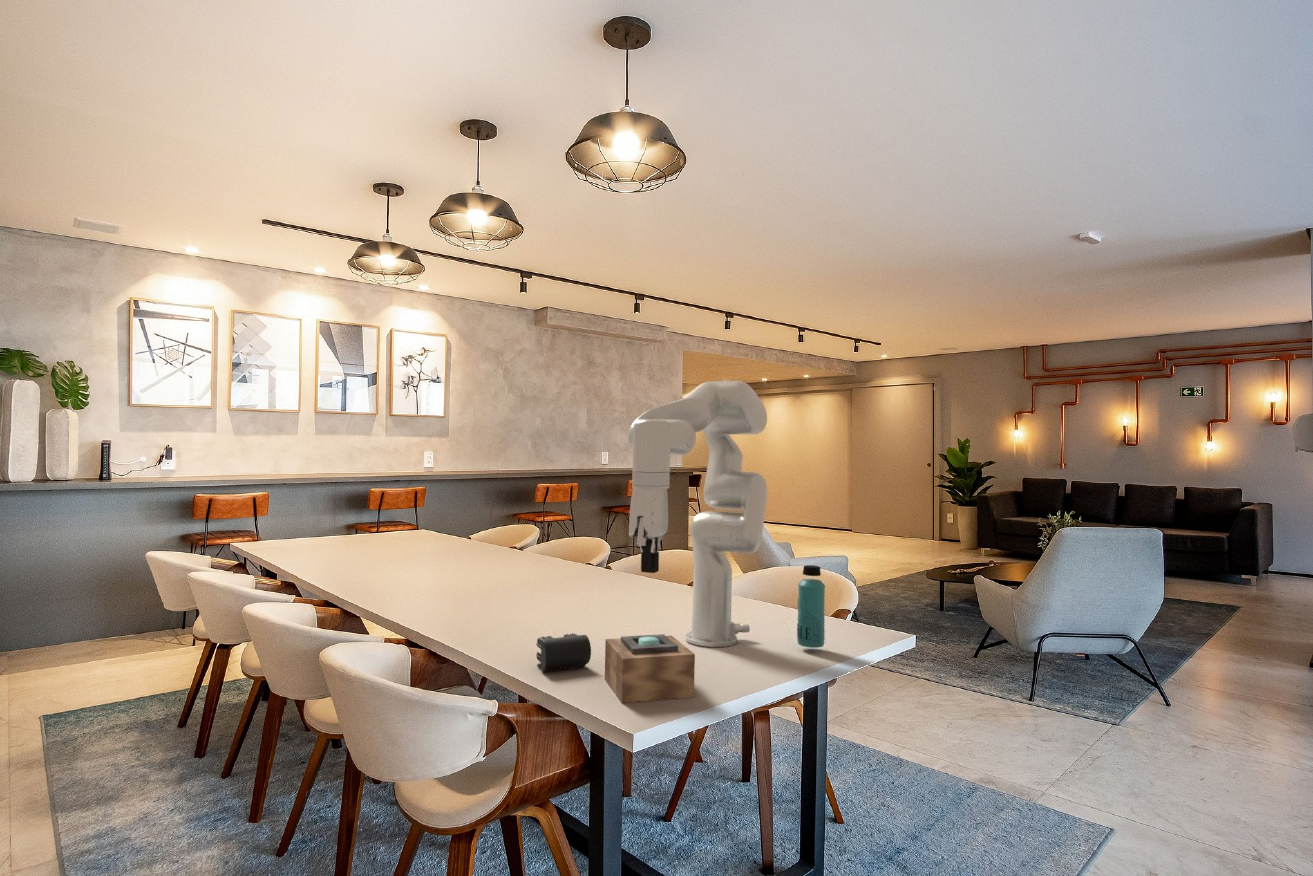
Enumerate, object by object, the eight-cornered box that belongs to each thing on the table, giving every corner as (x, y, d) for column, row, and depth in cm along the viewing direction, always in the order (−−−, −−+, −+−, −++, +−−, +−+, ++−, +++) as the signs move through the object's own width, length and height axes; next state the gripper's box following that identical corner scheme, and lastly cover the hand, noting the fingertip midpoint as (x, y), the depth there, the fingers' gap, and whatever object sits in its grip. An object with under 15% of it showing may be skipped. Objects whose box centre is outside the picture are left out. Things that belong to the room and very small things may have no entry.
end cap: (545, 676, 143) (546, 643, 143) (534, 667, 149) (535, 634, 149) (591, 670, 148) (591, 638, 148) (578, 661, 154) (579, 630, 154)
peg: (654, 681, 140) (655, 636, 140) (660, 688, 136) (661, 641, 136) (635, 683, 139) (636, 637, 139) (640, 690, 135) (641, 642, 135)
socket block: (670, 674, 146) (671, 630, 146) (693, 697, 133) (695, 649, 133) (604, 679, 142) (605, 634, 142) (621, 703, 129) (622, 653, 129)
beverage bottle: (827, 649, 168) (828, 564, 169) (821, 656, 162) (823, 568, 163) (800, 645, 171) (801, 562, 172) (793, 652, 165) (795, 566, 166)
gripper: (648, 478, 150) (647, 564, 150) (618, 482, 137) (617, 577, 137) (681, 479, 148) (680, 567, 148) (654, 483, 134) (652, 580, 134)
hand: (649, 571), depth 142 cm, fingers closed
